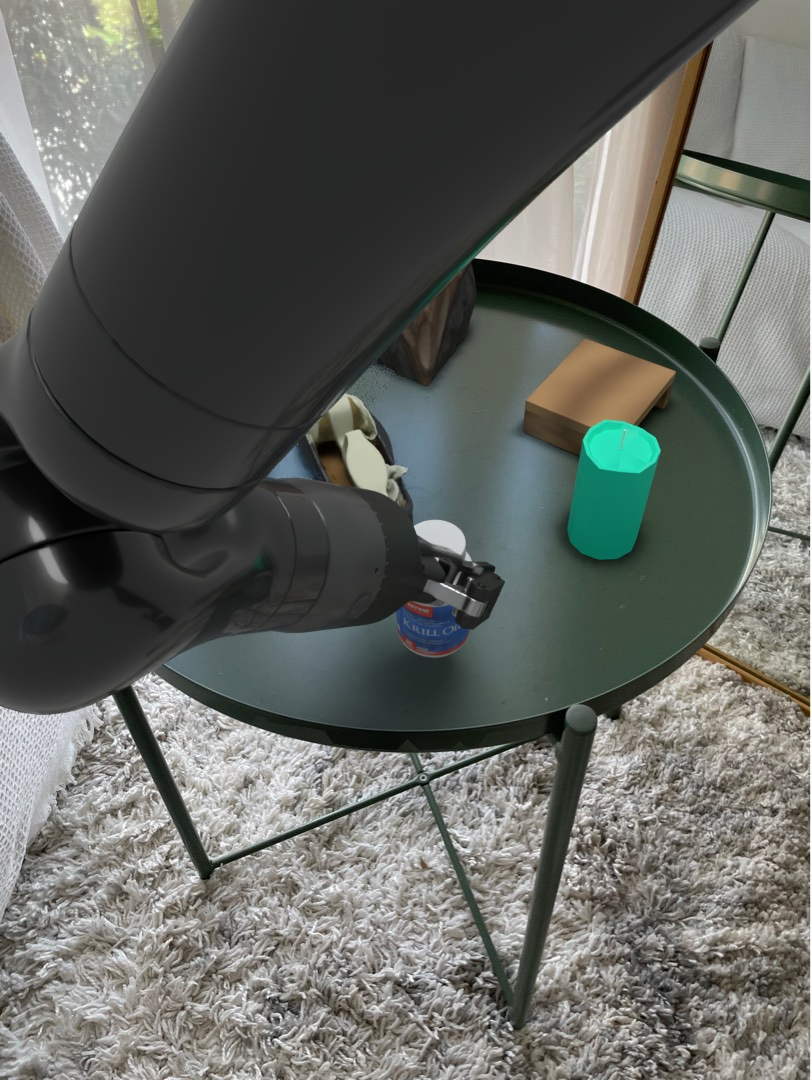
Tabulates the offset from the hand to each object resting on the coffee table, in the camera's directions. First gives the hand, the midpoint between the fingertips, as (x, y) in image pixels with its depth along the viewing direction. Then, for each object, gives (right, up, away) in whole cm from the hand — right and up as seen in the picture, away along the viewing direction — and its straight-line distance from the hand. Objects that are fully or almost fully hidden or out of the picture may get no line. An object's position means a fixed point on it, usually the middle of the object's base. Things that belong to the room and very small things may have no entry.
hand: (448, 559), depth 57 cm
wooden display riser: (+16, +14, +26) cm, 33 cm away
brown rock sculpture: (-2, +22, +34) cm, 41 cm away
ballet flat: (-8, +6, +21) cm, 23 cm away
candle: (+14, +2, +16) cm, 21 cm away
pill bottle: (-1, -5, +4) cm, 7 cm away
